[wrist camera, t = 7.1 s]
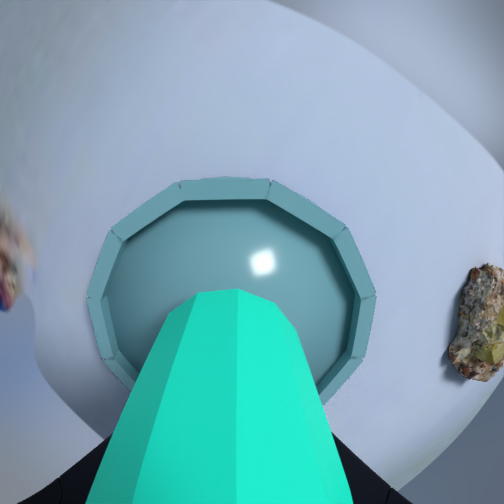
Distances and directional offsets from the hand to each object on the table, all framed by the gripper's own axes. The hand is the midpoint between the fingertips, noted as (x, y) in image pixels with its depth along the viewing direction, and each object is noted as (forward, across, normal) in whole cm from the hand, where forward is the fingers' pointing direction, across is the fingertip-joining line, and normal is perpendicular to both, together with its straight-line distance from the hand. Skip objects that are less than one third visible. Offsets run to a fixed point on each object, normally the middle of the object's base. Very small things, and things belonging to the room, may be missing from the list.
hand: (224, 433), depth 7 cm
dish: (+8, 0, 0) cm, 8 cm away
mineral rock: (+8, -19, +2) cm, 21 cm away
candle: (+5, 0, 0) cm, 5 cm away
